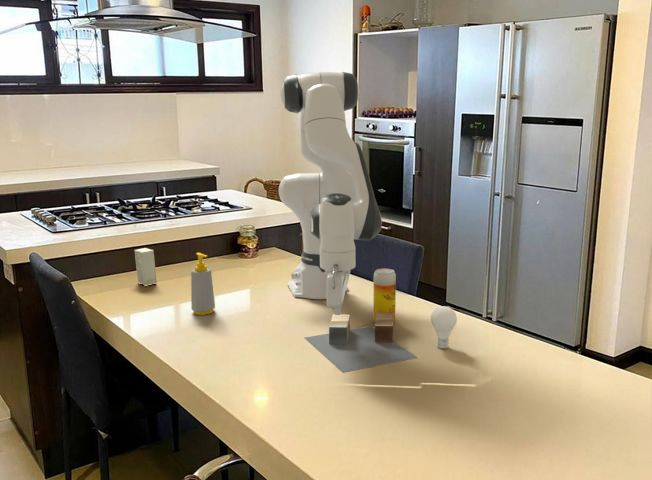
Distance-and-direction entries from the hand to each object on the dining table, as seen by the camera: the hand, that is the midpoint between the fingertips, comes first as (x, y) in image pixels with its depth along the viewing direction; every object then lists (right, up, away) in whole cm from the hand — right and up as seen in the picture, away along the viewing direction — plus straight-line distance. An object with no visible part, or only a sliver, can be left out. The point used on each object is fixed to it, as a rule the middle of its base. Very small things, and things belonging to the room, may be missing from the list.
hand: (338, 313), depth 159 cm
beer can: (+13, -5, +17) cm, 22 cm away
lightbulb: (+26, -9, -2) cm, 28 cm away
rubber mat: (+5, -9, -1) cm, 10 cm away
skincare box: (-65, +3, +58) cm, 87 cm away
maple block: (0, -6, +1) cm, 6 cm away
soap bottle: (-39, -3, +28) cm, 49 cm away
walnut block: (+12, -6, +1) cm, 13 cm away
